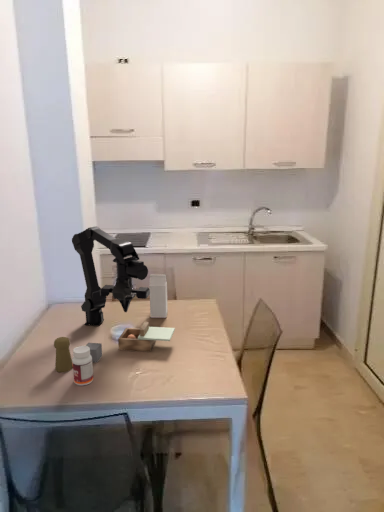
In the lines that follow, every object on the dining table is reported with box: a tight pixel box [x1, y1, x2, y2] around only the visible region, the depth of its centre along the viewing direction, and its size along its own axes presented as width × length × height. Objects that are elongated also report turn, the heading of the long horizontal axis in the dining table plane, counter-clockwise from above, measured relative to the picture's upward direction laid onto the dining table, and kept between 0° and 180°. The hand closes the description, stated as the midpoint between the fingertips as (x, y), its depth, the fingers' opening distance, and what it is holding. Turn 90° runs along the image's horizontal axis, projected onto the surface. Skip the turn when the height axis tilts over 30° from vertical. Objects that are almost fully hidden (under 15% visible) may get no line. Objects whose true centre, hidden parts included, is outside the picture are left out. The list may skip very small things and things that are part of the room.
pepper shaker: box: [53, 336, 73, 373], centre depth 140 cm, size 6×6×11 cm
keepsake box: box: [117, 327, 157, 353], centre depth 157 cm, size 12×10×4 cm
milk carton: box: [148, 274, 168, 319], centre depth 184 cm, size 7×7×19 cm
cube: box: [85, 342, 103, 364], centre depth 147 cm, size 5×5×5 cm
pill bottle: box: [71, 345, 94, 386], centre depth 132 cm, size 6×6×11 cm
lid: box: [138, 321, 176, 342], centre depth 155 cm, size 12×10×3 cm
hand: (125, 311), depth 163 cm, fingers closed
